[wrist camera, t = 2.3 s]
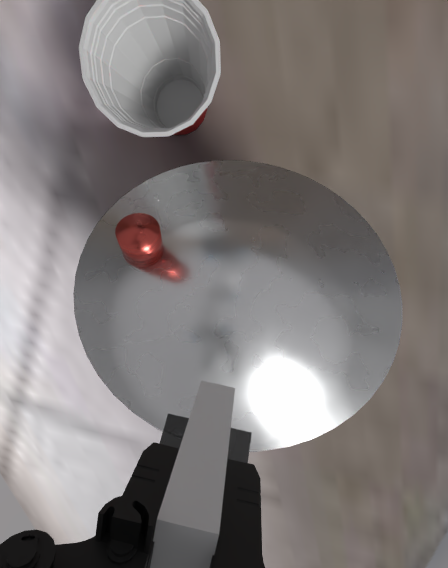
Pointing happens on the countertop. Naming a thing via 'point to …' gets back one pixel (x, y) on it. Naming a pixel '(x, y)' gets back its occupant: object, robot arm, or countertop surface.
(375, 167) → the countertop surface
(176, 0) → the plastic cup
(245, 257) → the cooker lid
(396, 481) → the countertop surface
